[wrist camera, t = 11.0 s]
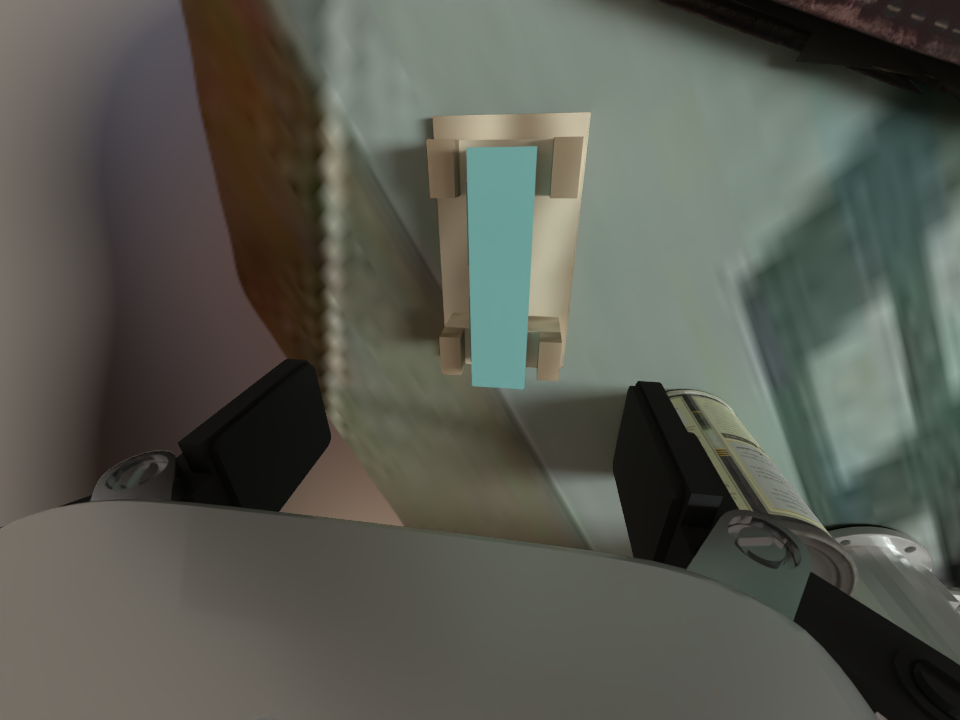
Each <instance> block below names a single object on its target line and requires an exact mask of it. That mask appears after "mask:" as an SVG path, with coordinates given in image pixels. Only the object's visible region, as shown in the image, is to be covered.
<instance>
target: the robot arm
mask: <svg viewBox="0 0 960 720" xmlns="http://www.w3.org/2000/svg"><path fill="white" fill-rule="evenodd" d="M330 440H331V433H330V429H329V425H328V421H327V416H326V412H325V408H324V404H323V400H322V396H321V392H320V388H319V384H318V380H317V375H316V371H315V368H314V367H313V366H312V365H310V363H309V362H308V361H306V360H298V359H286V360H284V361H283V362H282V363H280V364H279V365H278V366H276V367H275V368H274V369H272V370H271V371H270V372H269V373H267V374H266V375H265V376H263V377H262V378H261V379H259V380H258V381H257V382H256V383H254V384H253V385H252V386H250V387H249V388H248V389H247V390H245V391H244V392H243V393H241V394H240V395H239V396H237V397H236V398H235V399H234V400H232V401H231V402H230V403H228V404H227V405H226V406H225V407H223V408H222V409H221V410H219V411H218V412H217V413H216V414H214V415H213V416H212V417H210V418H209V419H208V420H206V421H205V422H204V423H203V424H201V425H200V426H199V427H197V428H196V429H195V430H194V431H192V432H191V433H190V434H188V435H187V436H186V437H184V438H183V439H182V440H181V441H179V442H178V444H179V446H180V448H181V450H182V452H183V453H182V454H181V455H180V456H178V457H177V458H176V456H175V455H174V454H173V453H172V452H170V451H163V450H161V451H151V452H147V453H142V454H139V455H137V456H134V457H131V458H129V459H127V460H125V461H123V462H121V463H119V464H117V465H116V466H114V467H113V468H111V469H110V470H108V471H107V472H106V473H105V474H104V475H103V476H102V477H101V478H100V480H99V481H98V483H97V484H96V487H95V490H94V492H93V495H91V496H88V497H85V498H82V499H79V500H77V501H74V502H71V503H68V504H65V505H63V506H60V507H57V508H53V509H49V510H45V511H42V512H39V513H36V514H32V515H29V516H26V517H23V518H21V519H18V520H16V521H14V522H12V523H9V524H8V525H6V526H3V527H0V720H960V588H955V587H950V588H948V587H945V586H944V585H943V584H942V583H941V582H940V581H939V580H938V579H937V578H936V577H935V576H934V575H933V574H932V573H931V571H932V567H933V566H932V559H931V557H930V556H929V554H928V552H927V551H926V550H925V549H924V548H923V547H922V546H921V545H920V544H919V543H918V542H917V541H916V540H914V539H913V538H911V537H910V536H908V535H906V534H904V533H901V532H899V531H895V530H891V529H887V528H880V527H870V526H867V527H848V528H840V529H836V530H831V531H827V532H828V533H829V534H830V535H831V537H832V538H834V539H835V540H836V541H837V542H838V543H839V544H840V545H841V546H842V547H843V548H844V549H845V550H846V551H847V552H848V554H849V555H850V556H851V558H852V559H853V561H854V563H855V565H856V567H857V571H858V583H857V587H856V590H855V591H854V594H853V595H852V597H851V596H849V595H848V594H846V593H845V592H843V591H841V590H840V589H838V588H837V587H835V586H833V585H832V584H830V583H829V582H827V581H825V580H824V579H822V578H821V577H819V576H817V575H816V574H814V573H813V572H811V569H812V558H811V556H810V553H809V551H808V549H807V547H806V546H805V545H804V543H803V542H802V541H801V540H800V538H799V537H798V536H797V535H795V534H794V533H793V532H792V531H791V530H790V529H788V528H787V527H786V526H784V525H783V524H781V523H779V522H778V521H776V520H775V519H773V518H770V517H768V516H766V515H763V514H761V513H758V512H754V511H750V510H739V508H738V507H737V505H736V503H735V501H734V500H733V498H732V496H731V495H730V493H729V491H728V489H727V488H726V486H725V484H724V482H723V481H722V479H721V477H720V475H719V474H718V472H717V470H716V468H715V467H714V465H713V463H712V461H711V460H710V458H709V456H708V454H707V453H706V451H705V449H704V448H703V446H702V444H701V442H700V441H699V439H698V437H697V436H696V435H695V434H694V433H692V432H688V431H687V429H686V428H685V426H684V424H683V422H682V420H681V418H680V417H679V415H678V413H677V411H676V409H675V407H674V406H673V404H672V402H671V400H670V398H669V397H668V395H667V393H666V391H665V389H664V387H663V386H662V384H661V383H659V382H644V381H638V382H637V383H636V386H630V387H629V388H628V392H627V397H626V402H625V407H624V411H623V416H622V421H621V426H620V431H619V435H618V440H617V445H616V450H615V455H614V460H613V472H614V476H615V481H616V485H617V489H618V493H619V498H620V502H621V506H622V510H623V514H624V519H625V523H626V527H627V531H628V535H629V540H630V544H631V548H632V552H633V556H634V558H633V557H627V556H621V555H616V554H610V553H603V552H596V551H589V550H582V549H575V548H567V547H560V546H553V545H546V544H538V543H530V542H522V541H515V540H507V539H499V538H491V537H483V536H475V535H467V534H459V533H451V532H443V531H435V530H427V529H419V528H410V527H402V526H394V525H386V524H377V523H369V522H360V521H352V520H344V519H335V518H327V517H319V516H310V515H301V514H292V513H284V512H279V511H280V510H281V508H282V507H283V506H284V504H285V503H286V502H287V500H288V499H289V498H290V496H291V495H292V494H293V492H294V491H295V490H296V488H297V487H298V486H299V484H300V483H301V482H302V480H303V479H304V478H305V476H306V475H307V474H308V472H309V471H310V470H311V468H312V467H313V466H314V464H315V463H316V462H317V460H318V459H319V458H320V456H321V455H322V454H323V452H324V451H325V450H326V448H327V447H328V445H329V443H330Z"/></svg>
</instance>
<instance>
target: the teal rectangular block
mask: <svg viewBox="0 0 960 720" xmlns="http://www.w3.org/2000/svg"><path fill="white" fill-rule="evenodd" d="M466 153H467V182H466V202H467V241H468V265H469V276H470V297H469V319H470V358H471V362H472V386H481V387H496V388H512V389H524V386H525V369H526V351H527V333H528V314H529V295H530V276H531V257H532V238H533V220H534V201H535V182H536V163H537V146H528V147H470V148H466Z"/></svg>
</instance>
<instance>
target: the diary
mask: <svg viewBox="0 0 960 720" xmlns="http://www.w3.org/2000/svg"><path fill="white" fill-rule="evenodd" d="M660 1H662V2H665V3H667V4H670V5H672V6H675V7H678V8H680V9H683V10H686V11H688V12H691V13H693V14H696V15H699V16H701V17H704V18H706V19H709V20H712V21H714V22H717V23H720V24H722V25H725V26H727V27H730V28H733V29H735V30H738V31H740V32H743V33H746V34H748V35H751V36H754V37H757V38H760V39H763V40H766V41H769V42H772V43H775V44H778V45H781V46H784V47H787V48H790V49H793V50H797V51H800V52H801V53H800V55H799V57H798V59H797V60H796V61H799V62H810V63H821V64H832V65H842V66H845V67H848V68H851V69H853V70H856V71H858V72H860V73H863V74H865V75H868V76H870V77H873V78H875V79H878V80H880V81H883V82H885V83H888V84H890V85H893V86H896V87H899V88H903V89H906V90H909V91H913V92H916V93H919V94H922V93H921V92H920V91H919V90H918V89H917V88H916V87H915V86H914V85H913V84H912V83H911V82H910V81H909V80H908V79H910V80H913V81H916V82H919V83H921V84H924V85H927V86H930V87H933V88H936V89H938V90H941V91H944V92H947V93H950V94H952V95H954V96H955V97H957V98H958V99H960V0H660Z"/></svg>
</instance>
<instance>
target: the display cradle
mask: <svg viewBox="0 0 960 720" xmlns="http://www.w3.org/2000/svg"><path fill="white" fill-rule="evenodd" d="M590 115H591V112H587V113H546V114H506V115H466V116H433V132H434V139H426V143H427V158H428V173H429V189H430V198H437V202H438V220H439V237H440V255H441V272H442V290H443V307H444V325H445V327H444V329H443V331H442V333H441V335H440V336H439V342H440V357H441V373H442V374H453V375H462V372H463V369H464V367H465V364H472V362H471V358H470V319H469V297H470V276H469V265H468V241H467V202H466V182H467V153H466V148H470V147H528V146H537V163H536V182H535V201H534V220H533V238H532V257H531V276H530V295H529V314H528V333H527V351H526V367H534V368H537V380H549V381H558V377H559V367H562V368H563V362H564V353H565V343H566V334H567V325H568V316H569V307H570V298H571V289H572V280H573V270H574V261H575V252H576V243H577V234H578V225H579V216H580V207H581V197H582V188H583V179H584V170H585V161H586V152H587V143H588V133H589V124H590Z"/></svg>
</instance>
